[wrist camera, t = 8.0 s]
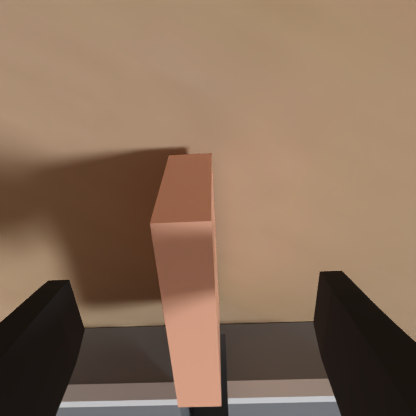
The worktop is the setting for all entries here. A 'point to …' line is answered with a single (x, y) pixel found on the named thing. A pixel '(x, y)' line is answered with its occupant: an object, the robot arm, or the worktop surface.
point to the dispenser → (230, 373)
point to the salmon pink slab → (189, 277)
